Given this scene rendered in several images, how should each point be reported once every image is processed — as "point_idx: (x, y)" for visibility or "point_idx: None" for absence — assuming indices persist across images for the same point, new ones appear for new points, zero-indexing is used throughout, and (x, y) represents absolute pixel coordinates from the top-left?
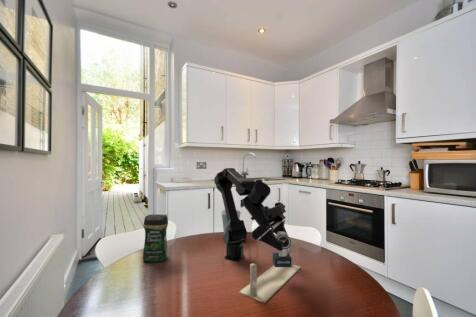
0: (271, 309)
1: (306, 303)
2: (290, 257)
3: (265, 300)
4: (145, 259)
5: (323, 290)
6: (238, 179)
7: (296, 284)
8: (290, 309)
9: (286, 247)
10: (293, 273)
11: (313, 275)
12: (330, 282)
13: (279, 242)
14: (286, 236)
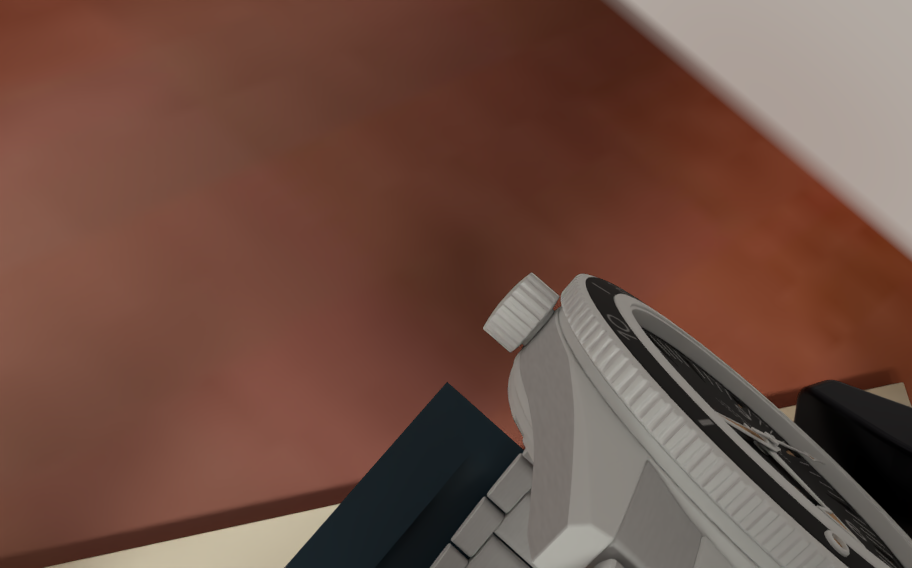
0: (903, 288)
1: (606, 129)
2: (448, 403)
3: (889, 390)
4: None
5: (289, 113)
6: None
7: (386, 368)
8: (778, 180)
9: (705, 349)
10: (185, 539)
11: (26, 341)
12: (66, 127)
13: (876, 540)
14: (709, 418)
